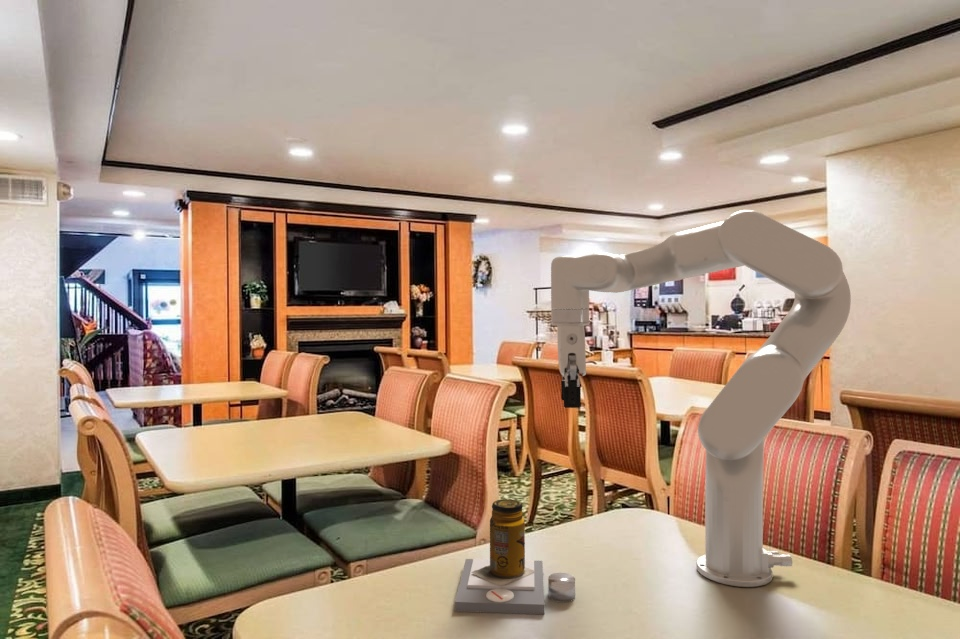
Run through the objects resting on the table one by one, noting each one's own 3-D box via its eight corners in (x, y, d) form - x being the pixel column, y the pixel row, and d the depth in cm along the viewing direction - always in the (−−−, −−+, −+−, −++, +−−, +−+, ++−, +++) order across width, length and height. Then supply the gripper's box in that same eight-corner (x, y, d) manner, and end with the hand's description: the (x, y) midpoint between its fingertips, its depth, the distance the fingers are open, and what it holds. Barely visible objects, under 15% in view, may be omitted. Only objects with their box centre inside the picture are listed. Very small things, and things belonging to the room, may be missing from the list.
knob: (574, 590, 106) (574, 573, 106) (576, 603, 102) (576, 584, 102) (547, 590, 107) (547, 572, 107) (548, 602, 102) (548, 584, 102)
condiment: (535, 572, 109) (535, 503, 109) (501, 587, 103) (500, 514, 103) (505, 560, 114) (504, 494, 114) (470, 574, 108) (470, 504, 108)
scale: (542, 568, 115) (542, 558, 115) (544, 614, 98) (544, 601, 98) (465, 566, 116) (465, 556, 116) (454, 611, 99) (454, 598, 99)
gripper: (593, 318, 117) (593, 410, 117) (585, 317, 134) (585, 397, 135) (552, 319, 118) (553, 410, 118) (550, 317, 135) (550, 397, 135)
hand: (570, 403), depth 126 cm, fingers open, 9 cm apart
